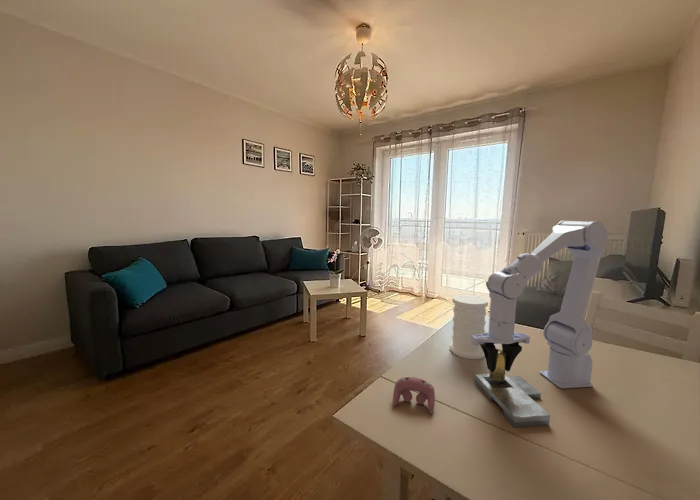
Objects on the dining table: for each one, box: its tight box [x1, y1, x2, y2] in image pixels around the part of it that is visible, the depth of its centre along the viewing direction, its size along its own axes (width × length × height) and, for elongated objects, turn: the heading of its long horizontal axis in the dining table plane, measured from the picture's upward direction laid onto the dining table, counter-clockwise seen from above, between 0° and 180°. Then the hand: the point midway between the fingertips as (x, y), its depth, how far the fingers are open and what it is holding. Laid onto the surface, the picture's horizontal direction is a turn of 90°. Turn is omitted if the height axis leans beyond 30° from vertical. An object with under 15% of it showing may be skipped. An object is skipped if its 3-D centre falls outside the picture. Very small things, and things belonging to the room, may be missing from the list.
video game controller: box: [392, 376, 436, 415], centre depth 72 cm, size 10×5×7 cm, turn 71°
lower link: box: [474, 375, 542, 402], centre depth 77 cm, size 13×8×1 cm, turn 95°
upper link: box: [474, 373, 551, 428], centre depth 72 cm, size 8×17×2 cm, turn 5°
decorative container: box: [449, 294, 489, 360], centre depth 98 cm, size 12×12×18 cm
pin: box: [488, 348, 506, 381], centre depth 76 cm, size 4×4×7 cm
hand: (498, 369), depth 76 cm, fingers closed on pin, 4 cm apart
